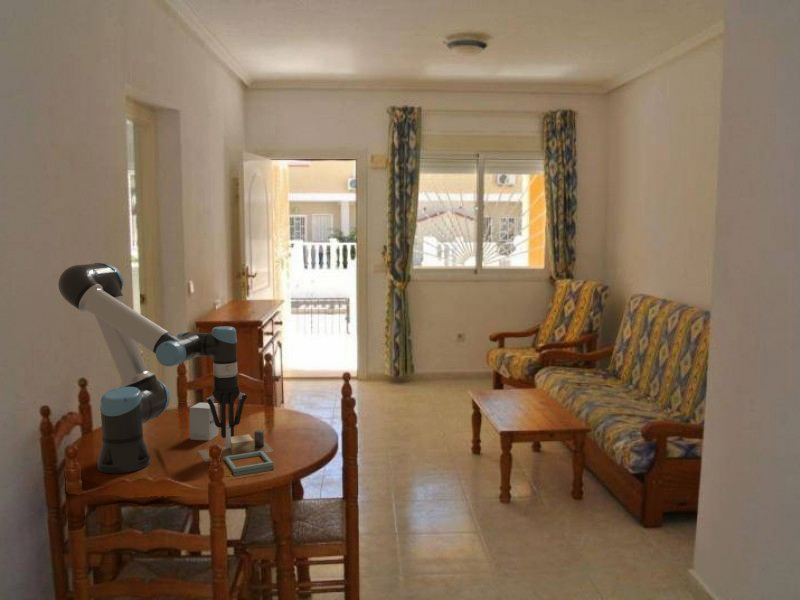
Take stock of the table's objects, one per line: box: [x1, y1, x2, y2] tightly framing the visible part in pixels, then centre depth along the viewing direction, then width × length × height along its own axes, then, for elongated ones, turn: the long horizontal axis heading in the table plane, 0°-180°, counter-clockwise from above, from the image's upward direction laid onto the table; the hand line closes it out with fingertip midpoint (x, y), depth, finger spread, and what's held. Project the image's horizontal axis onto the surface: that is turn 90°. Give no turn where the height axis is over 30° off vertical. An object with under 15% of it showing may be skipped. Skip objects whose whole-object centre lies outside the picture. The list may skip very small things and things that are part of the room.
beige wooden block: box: [229, 433, 255, 454], centre depth 217 cm, size 7×7×4 cm
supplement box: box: [189, 402, 220, 441], centre depth 230 cm, size 7×7×13 cm
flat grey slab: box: [197, 429, 275, 463], centre depth 216 cm, size 22×12×6 cm, turn 117°
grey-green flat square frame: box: [224, 451, 274, 478], centre depth 205 cm, size 12×12×2 cm
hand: (228, 446), depth 215 cm, fingers closed
